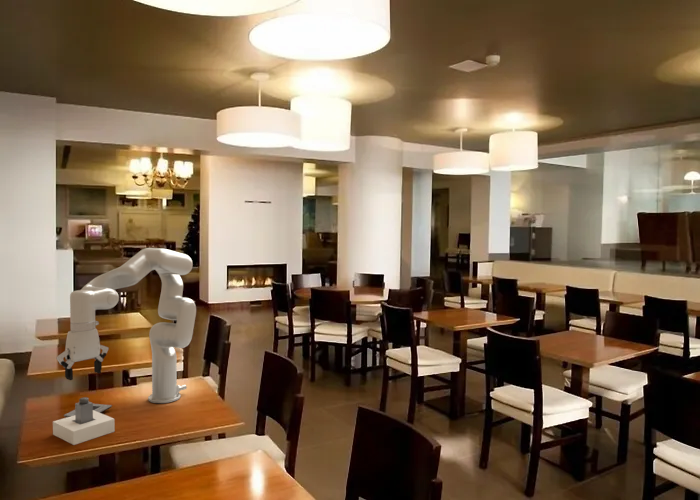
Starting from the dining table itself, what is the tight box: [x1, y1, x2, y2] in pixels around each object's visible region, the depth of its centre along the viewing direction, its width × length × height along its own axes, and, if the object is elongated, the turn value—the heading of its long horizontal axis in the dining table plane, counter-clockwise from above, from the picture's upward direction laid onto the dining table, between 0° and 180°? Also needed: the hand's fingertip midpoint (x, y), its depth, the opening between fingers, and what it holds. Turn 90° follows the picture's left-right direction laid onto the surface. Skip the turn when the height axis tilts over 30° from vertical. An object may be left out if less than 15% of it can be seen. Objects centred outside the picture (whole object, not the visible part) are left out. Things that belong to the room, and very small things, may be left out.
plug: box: [74, 396, 94, 424], centre depth 178 cm, size 4×4×12 cm
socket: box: [52, 410, 116, 446], centre depth 179 cm, size 14×14×4 cm
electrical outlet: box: [63, 403, 113, 418], centre depth 196 cm, size 13×10×2 cm
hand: (83, 376), depth 178 cm, fingers open, 9 cm apart
